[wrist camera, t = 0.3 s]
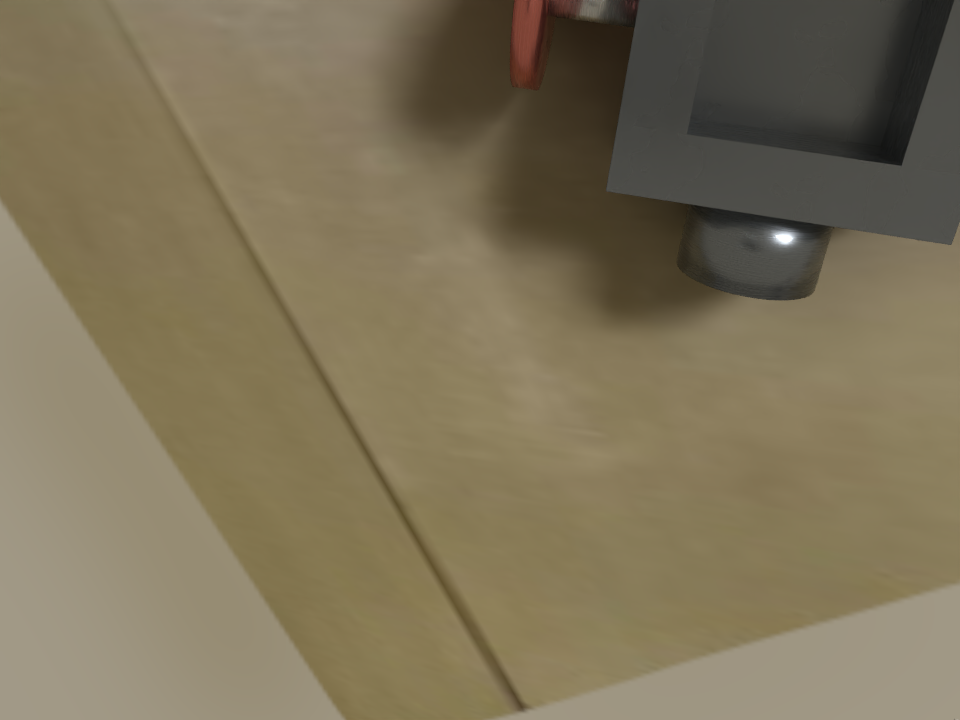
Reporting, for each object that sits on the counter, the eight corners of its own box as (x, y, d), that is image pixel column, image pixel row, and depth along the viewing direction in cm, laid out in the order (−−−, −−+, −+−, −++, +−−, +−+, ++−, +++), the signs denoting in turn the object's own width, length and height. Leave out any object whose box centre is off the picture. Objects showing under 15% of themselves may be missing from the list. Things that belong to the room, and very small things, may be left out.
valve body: (575, -293, 30) (556, -347, 24) (1049, -246, 28) (1150, -292, 22) (510, 211, 37) (482, 263, 31) (880, 270, 36) (924, 336, 30)
